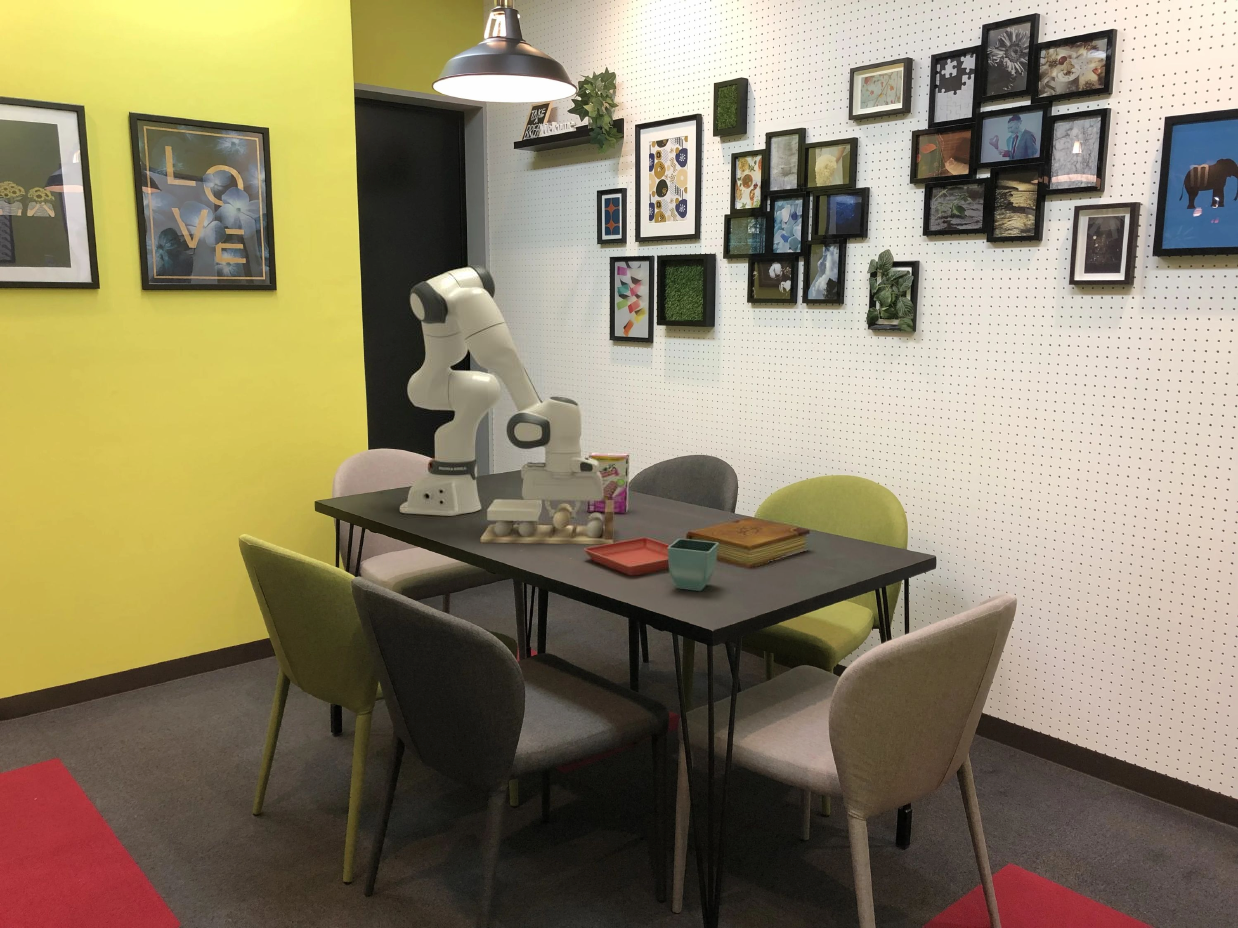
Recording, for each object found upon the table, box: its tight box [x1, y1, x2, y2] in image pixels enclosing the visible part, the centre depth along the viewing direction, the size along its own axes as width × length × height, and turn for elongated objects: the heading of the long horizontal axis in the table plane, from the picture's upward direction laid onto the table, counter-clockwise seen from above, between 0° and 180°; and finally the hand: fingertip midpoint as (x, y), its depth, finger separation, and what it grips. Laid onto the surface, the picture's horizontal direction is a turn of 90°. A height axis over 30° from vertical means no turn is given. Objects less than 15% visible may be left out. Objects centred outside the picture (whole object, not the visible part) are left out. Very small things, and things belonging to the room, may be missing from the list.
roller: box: [552, 503, 573, 529], centre depth 232 cm, size 4×11×4 cm, turn 179°
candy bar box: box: [587, 452, 630, 514], centre depth 261 cm, size 11×5×16 cm, turn 84°
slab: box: [486, 499, 543, 522], centre depth 232 cm, size 12×13×2 cm
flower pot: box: [667, 538, 719, 592], centre depth 190 cm, size 9×9×9 cm
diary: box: [685, 517, 811, 569], centre depth 220 cm, size 23×19×6 cm
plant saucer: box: [583, 537, 671, 576], centre depth 208 cm, size 18×18×3 cm
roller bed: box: [480, 500, 615, 545], centre depth 232 cm, size 32×15×8 cm, turn 89°
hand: (562, 517), depth 232 cm, fingers closed on roller, 4 cm apart
